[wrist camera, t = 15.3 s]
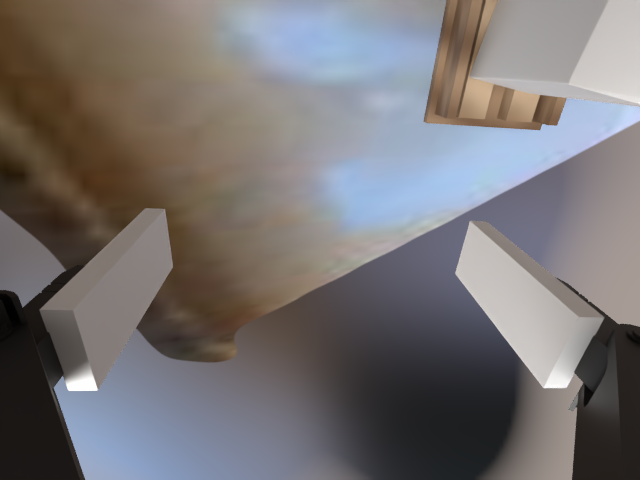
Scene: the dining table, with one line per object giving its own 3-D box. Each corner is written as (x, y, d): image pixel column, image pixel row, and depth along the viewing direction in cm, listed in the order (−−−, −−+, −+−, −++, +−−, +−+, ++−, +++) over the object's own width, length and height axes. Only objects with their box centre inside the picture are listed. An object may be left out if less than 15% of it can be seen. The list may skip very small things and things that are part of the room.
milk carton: (467, 77, 36) (617, 87, 20) (497, -2, 33) (704, -72, 17) (527, 93, 38) (718, 116, 21) (561, 18, 35) (816, -28, 18)
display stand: (456, -49, 34) (477, -64, 30) (588, -35, 35) (626, -48, 31) (423, 121, 41) (437, 127, 37) (534, 128, 42) (559, 135, 38)
